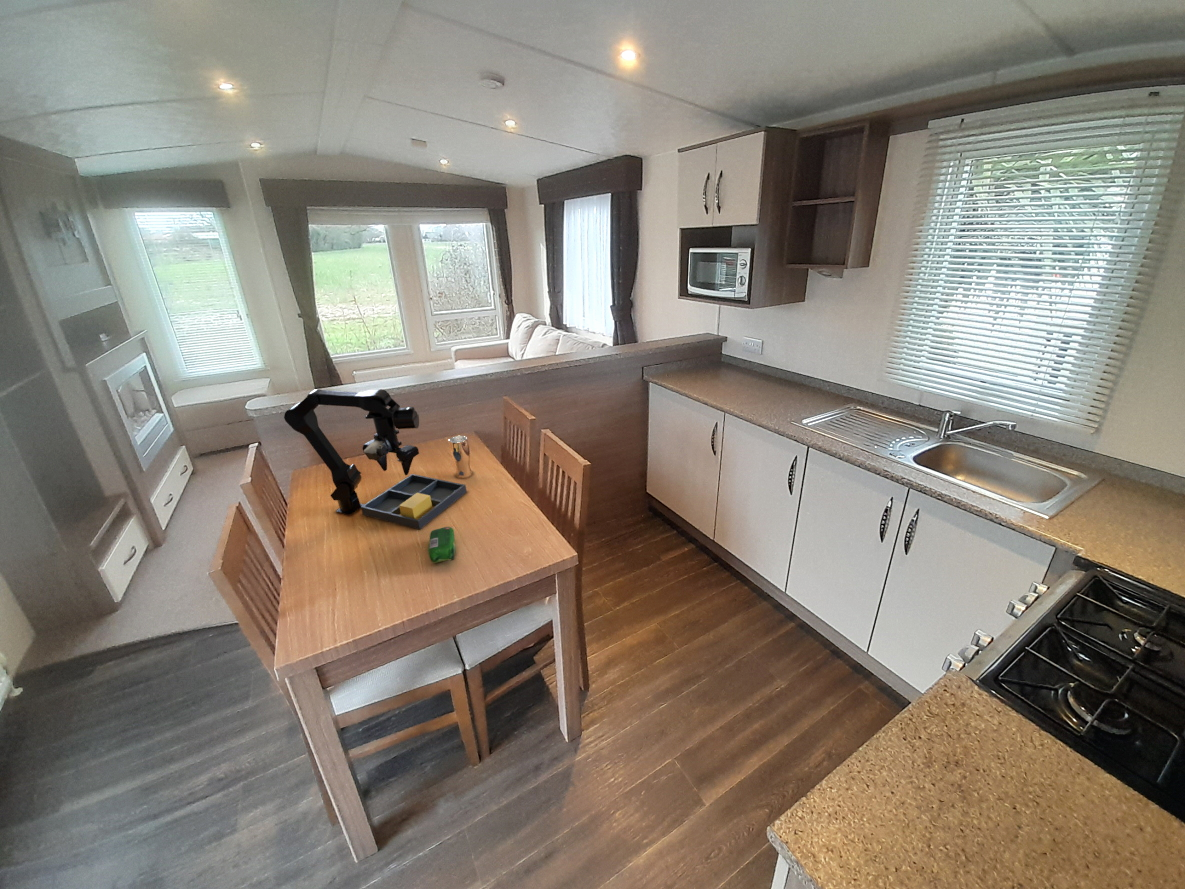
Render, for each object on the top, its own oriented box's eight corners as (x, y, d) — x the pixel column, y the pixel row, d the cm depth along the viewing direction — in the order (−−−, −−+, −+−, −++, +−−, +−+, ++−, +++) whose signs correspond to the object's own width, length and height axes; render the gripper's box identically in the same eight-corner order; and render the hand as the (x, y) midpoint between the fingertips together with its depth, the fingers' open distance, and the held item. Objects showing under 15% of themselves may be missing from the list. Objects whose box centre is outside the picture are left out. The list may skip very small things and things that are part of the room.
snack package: (430, 571, 132) (426, 556, 130) (432, 539, 146) (429, 524, 143) (456, 567, 133) (453, 552, 131) (455, 535, 147) (453, 521, 145)
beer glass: (477, 472, 184) (471, 437, 178) (463, 480, 179) (457, 444, 172) (464, 468, 187) (458, 433, 181) (450, 476, 182) (444, 440, 176)
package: (401, 518, 155) (398, 505, 153) (419, 505, 162) (417, 492, 160) (415, 521, 153) (412, 508, 151) (432, 508, 160) (430, 495, 158)
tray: (362, 514, 159) (360, 506, 158) (413, 481, 180) (411, 473, 178) (420, 529, 151) (418, 521, 149) (466, 492, 171) (465, 484, 170)
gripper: (343, 435, 148) (355, 479, 155) (389, 443, 142) (400, 489, 148) (371, 422, 158) (381, 464, 164) (415, 429, 151) (424, 472, 157)
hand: (395, 472), depth 158 cm, fingers open, 9 cm apart
